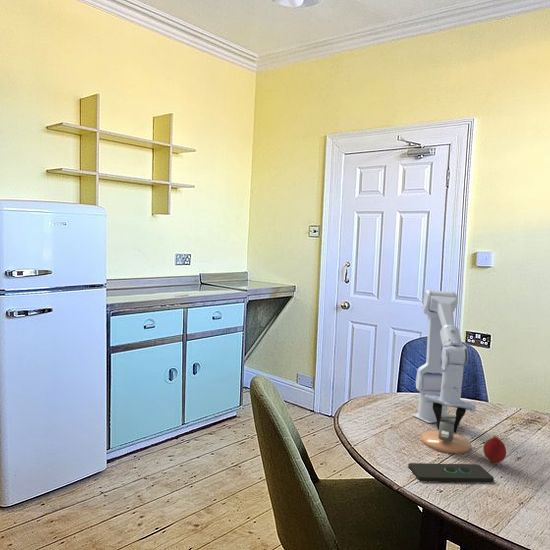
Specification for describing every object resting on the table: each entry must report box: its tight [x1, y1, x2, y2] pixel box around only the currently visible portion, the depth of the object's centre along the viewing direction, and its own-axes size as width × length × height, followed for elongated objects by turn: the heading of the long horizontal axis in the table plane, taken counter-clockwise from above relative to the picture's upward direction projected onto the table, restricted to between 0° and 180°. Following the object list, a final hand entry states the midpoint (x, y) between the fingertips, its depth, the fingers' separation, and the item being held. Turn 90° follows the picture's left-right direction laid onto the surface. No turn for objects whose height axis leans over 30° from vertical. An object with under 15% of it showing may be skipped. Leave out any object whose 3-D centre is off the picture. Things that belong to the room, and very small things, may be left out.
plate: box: [421, 430, 472, 455], centre depth 153 cm, size 14×14×1 cm
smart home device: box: [407, 462, 494, 484], centre depth 133 cm, size 8×2×20 cm
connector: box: [438, 413, 456, 441], centre depth 152 cm, size 12×4×5 cm, turn 155°
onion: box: [482, 434, 507, 465], centre depth 141 cm, size 6×6×8 cm
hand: (447, 430), depth 153 cm, fingers closed on connector, 4 cm apart
